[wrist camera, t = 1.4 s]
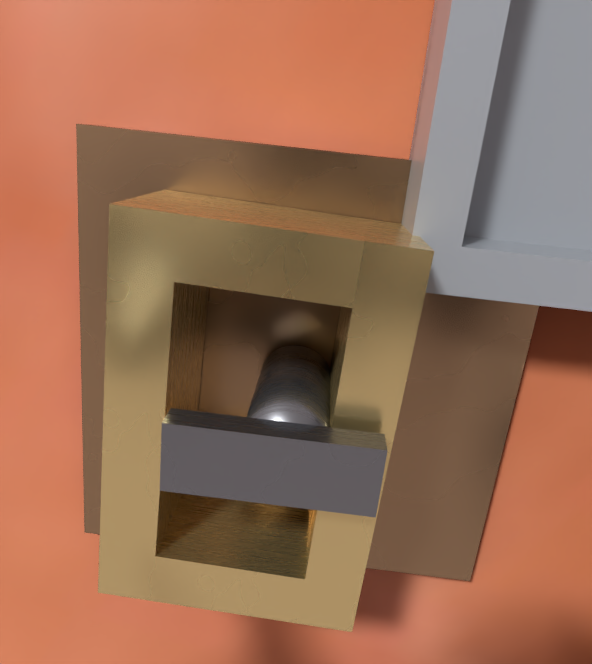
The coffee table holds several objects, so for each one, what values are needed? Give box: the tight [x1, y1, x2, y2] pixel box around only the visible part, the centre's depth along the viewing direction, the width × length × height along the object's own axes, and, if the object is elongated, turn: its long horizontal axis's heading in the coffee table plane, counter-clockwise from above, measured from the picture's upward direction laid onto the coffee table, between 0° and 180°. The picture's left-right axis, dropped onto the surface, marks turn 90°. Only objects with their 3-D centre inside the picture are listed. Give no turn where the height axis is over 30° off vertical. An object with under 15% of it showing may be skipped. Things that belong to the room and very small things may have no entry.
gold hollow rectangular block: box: [98, 189, 434, 632], centre depth 13 cm, size 10×6×3 cm, turn 172°
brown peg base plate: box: [76, 124, 539, 581], centre depth 12 cm, size 11×11×5 cm
